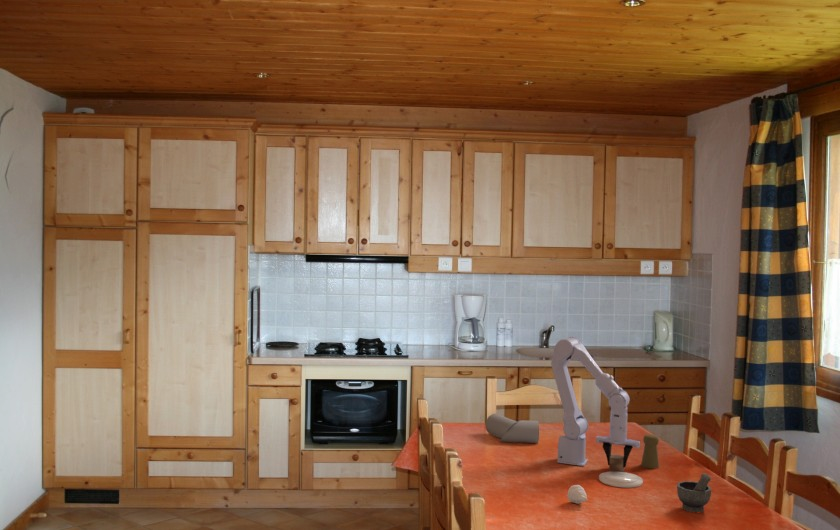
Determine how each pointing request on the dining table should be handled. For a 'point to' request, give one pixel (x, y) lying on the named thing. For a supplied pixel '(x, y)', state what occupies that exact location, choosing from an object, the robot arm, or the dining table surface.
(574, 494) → the garlic bulb
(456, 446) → the dining table surface
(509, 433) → the bent grey cylinder
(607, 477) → the plate
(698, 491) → the mortar and pestle
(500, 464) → the dining table surface
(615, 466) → the walnut cube
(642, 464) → the pepper mill
